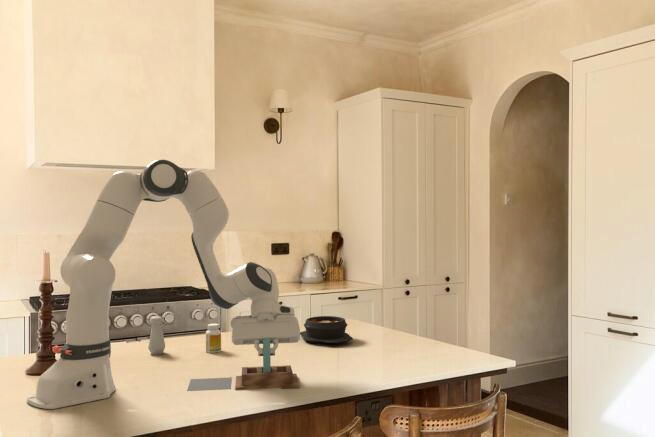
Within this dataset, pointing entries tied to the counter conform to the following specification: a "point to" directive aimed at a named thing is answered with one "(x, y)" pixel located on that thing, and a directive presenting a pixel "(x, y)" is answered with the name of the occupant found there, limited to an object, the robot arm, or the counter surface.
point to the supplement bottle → (213, 339)
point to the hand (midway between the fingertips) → (266, 354)
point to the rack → (267, 378)
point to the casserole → (326, 330)
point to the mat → (209, 384)
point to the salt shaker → (156, 336)
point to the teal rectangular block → (266, 355)
